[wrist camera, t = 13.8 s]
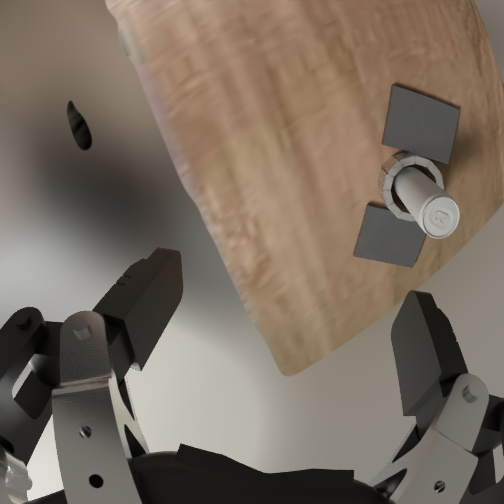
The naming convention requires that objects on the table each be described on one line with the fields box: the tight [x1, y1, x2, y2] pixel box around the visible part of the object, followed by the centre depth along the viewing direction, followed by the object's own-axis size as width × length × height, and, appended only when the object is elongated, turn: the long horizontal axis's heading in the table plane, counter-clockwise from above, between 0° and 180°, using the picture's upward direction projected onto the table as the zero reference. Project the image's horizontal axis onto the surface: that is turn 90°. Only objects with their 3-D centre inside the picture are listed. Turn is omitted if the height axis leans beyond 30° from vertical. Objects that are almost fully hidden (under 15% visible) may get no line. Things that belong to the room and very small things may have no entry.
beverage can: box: [393, 167, 460, 238], centre depth 29 cm, size 5×5×12 cm
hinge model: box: [353, 85, 460, 268], centre depth 33 cm, size 25×10×3 cm, turn 174°
